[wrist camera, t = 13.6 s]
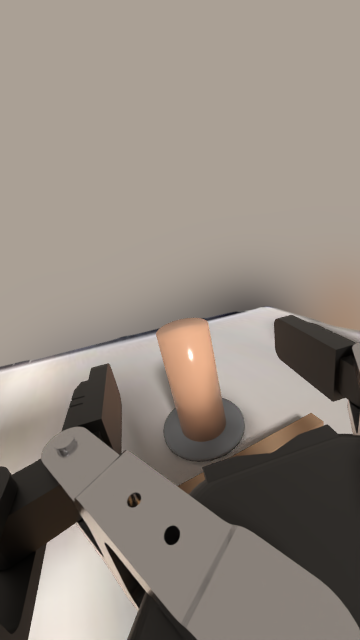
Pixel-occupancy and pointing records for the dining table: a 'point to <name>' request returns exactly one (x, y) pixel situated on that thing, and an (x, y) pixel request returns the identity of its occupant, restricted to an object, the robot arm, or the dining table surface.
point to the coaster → (208, 448)
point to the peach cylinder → (193, 377)
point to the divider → (267, 444)
